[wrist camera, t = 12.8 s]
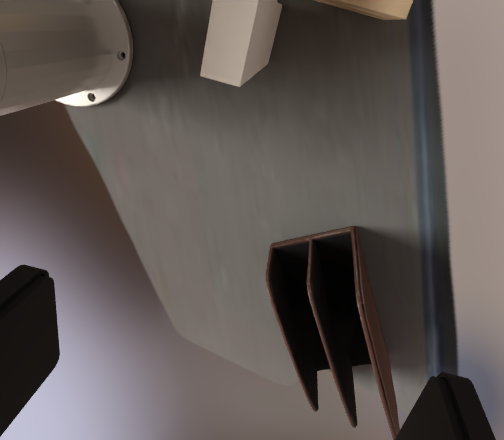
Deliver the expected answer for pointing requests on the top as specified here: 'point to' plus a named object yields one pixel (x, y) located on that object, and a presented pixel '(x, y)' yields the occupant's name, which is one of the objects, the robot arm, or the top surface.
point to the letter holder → (329, 315)
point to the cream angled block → (239, 39)
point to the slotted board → (375, 7)
